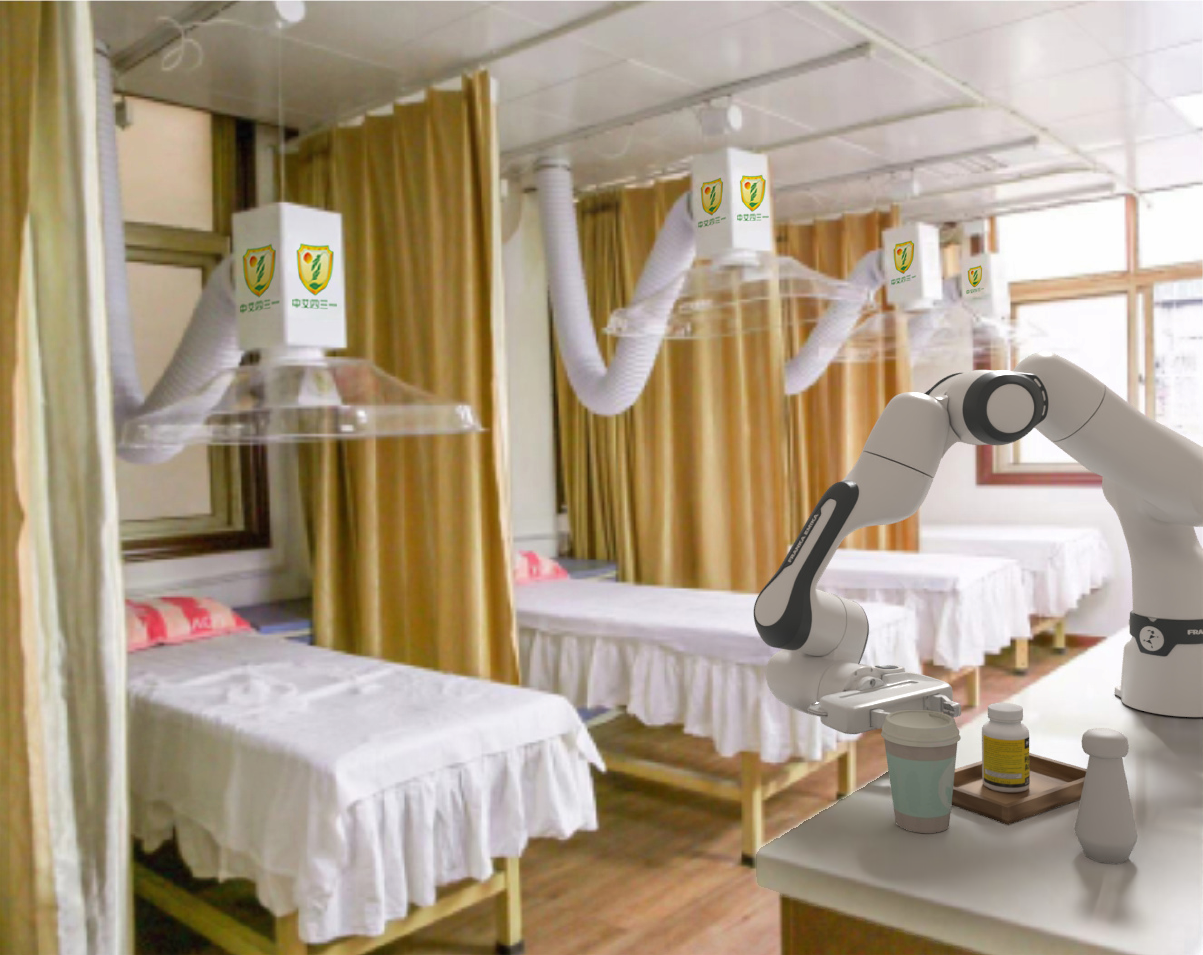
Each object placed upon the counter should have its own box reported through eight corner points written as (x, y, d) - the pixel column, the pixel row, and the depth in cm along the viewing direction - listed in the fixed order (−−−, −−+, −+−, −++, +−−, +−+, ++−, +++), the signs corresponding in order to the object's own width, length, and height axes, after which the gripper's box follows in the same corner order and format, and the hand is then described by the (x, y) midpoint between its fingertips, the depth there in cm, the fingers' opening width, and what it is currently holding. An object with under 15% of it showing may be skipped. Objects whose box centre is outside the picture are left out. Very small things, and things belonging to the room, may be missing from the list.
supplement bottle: (1034, 795, 124) (1033, 713, 124) (986, 793, 125) (984, 712, 125) (1025, 779, 130) (1024, 701, 129) (979, 778, 131) (977, 700, 130)
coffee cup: (951, 844, 112) (949, 733, 112) (873, 830, 117) (870, 724, 116) (970, 817, 120) (968, 713, 119) (895, 805, 124) (893, 705, 124)
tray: (1018, 764, 137) (1018, 749, 136) (1104, 790, 126) (1104, 774, 126) (923, 794, 127) (923, 778, 127) (1008, 825, 117) (1007, 807, 117)
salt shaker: (1111, 872, 104) (1110, 743, 104) (1062, 852, 109) (1061, 729, 109) (1149, 859, 107) (1148, 733, 106) (1100, 840, 112) (1098, 720, 111)
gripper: (799, 685, 143) (875, 707, 131) (904, 663, 153) (983, 681, 142) (800, 731, 143) (876, 756, 131) (905, 705, 154) (984, 727, 142)
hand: (933, 717), depth 137 cm, fingers open, 8 cm apart
